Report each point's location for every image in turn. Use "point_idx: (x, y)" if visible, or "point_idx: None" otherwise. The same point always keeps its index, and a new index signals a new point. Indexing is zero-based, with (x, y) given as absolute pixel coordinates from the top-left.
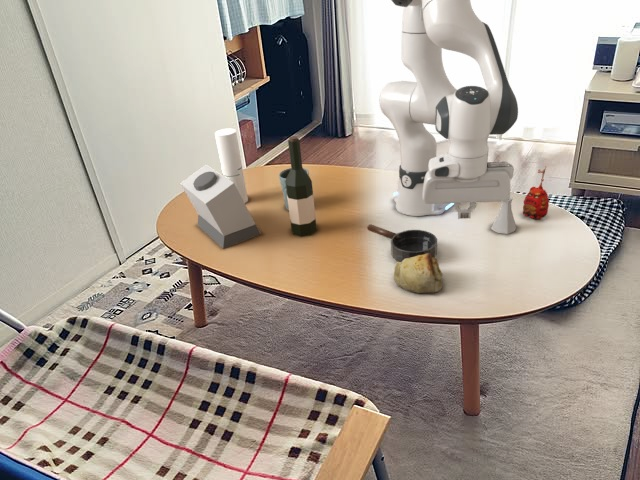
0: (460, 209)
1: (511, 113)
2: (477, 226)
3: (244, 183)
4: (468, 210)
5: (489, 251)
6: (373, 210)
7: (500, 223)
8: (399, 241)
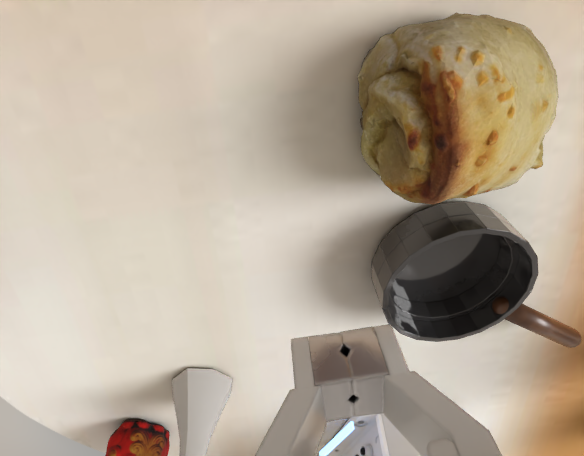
0: (392, 409)
1: None
2: (266, 383)
3: None
4: (319, 406)
5: (220, 299)
6: (512, 402)
7: (206, 395)
8: (488, 295)
